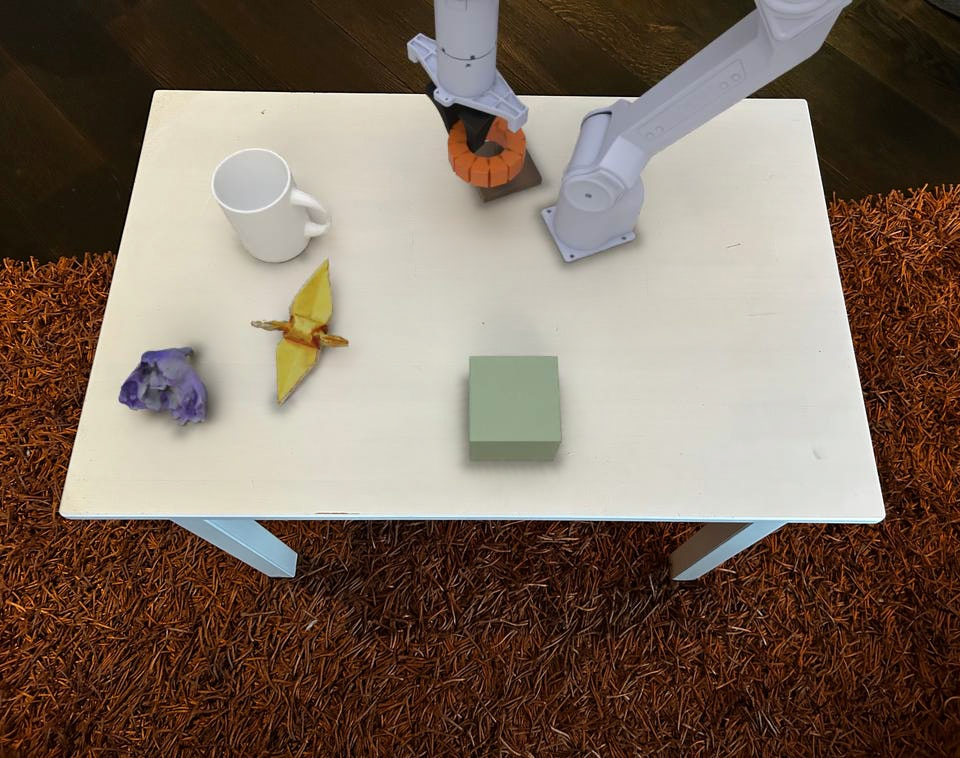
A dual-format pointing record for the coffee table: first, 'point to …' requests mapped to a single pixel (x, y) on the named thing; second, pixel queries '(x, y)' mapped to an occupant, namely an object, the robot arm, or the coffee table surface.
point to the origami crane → (304, 331)
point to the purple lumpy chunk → (166, 385)
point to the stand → (521, 181)
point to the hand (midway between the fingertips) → (466, 139)
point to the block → (514, 408)
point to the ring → (487, 168)
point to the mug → (266, 204)
